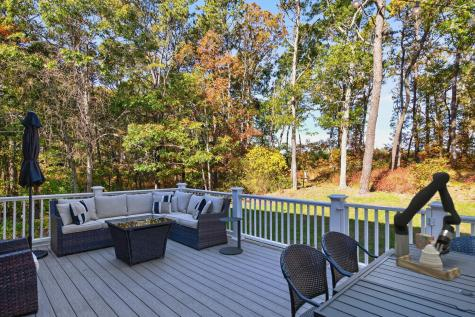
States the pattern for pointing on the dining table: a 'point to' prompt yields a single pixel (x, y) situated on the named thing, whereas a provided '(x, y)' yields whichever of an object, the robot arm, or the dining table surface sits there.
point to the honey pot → (431, 257)
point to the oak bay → (427, 269)
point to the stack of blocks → (424, 240)
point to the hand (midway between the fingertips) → (436, 258)
